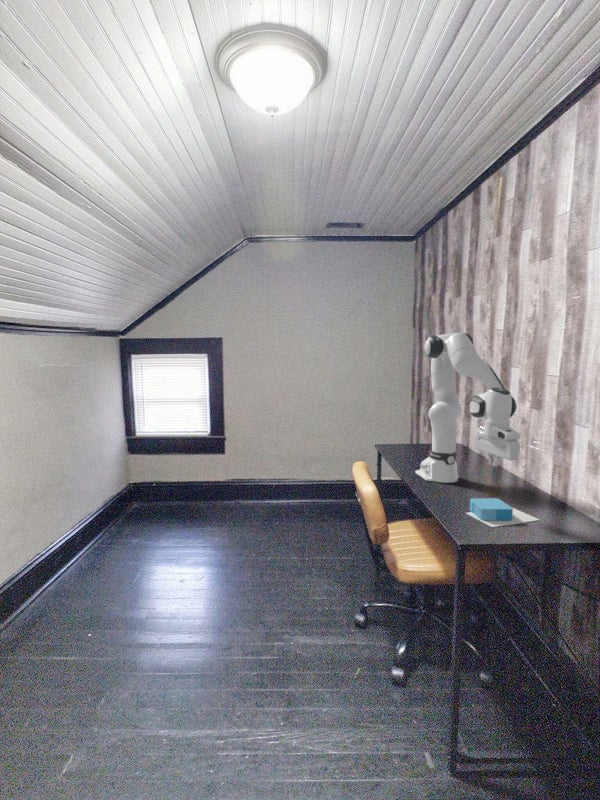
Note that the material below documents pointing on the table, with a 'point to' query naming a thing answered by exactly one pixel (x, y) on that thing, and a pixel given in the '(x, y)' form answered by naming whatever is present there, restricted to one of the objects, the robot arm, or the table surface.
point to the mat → (516, 519)
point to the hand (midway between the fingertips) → (493, 465)
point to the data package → (491, 509)
